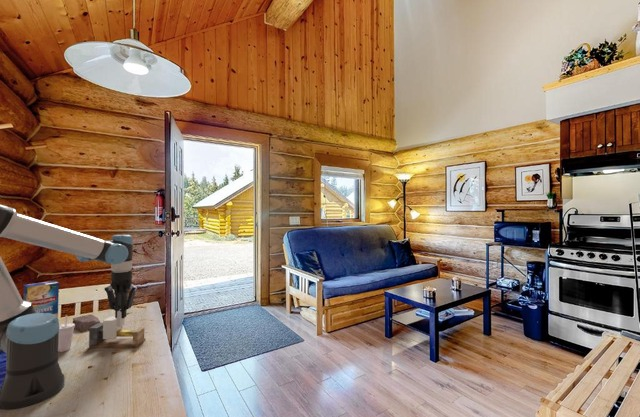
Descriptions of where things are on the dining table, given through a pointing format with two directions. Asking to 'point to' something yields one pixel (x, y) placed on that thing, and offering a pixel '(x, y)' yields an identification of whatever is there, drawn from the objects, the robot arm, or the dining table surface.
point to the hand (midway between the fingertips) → (120, 325)
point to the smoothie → (65, 336)
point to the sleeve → (110, 328)
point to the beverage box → (43, 296)
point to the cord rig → (99, 342)
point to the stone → (85, 322)
